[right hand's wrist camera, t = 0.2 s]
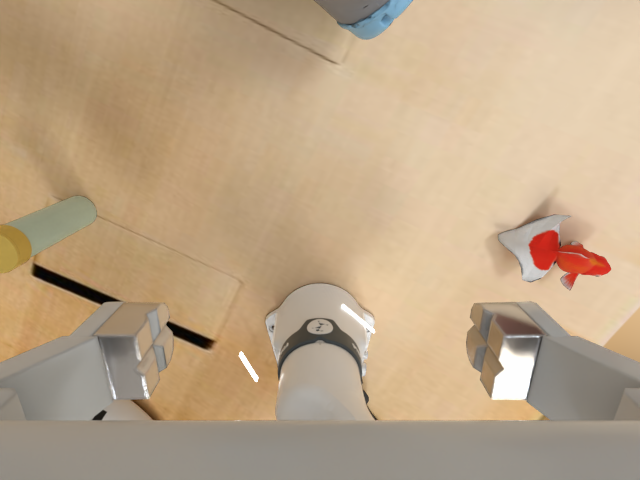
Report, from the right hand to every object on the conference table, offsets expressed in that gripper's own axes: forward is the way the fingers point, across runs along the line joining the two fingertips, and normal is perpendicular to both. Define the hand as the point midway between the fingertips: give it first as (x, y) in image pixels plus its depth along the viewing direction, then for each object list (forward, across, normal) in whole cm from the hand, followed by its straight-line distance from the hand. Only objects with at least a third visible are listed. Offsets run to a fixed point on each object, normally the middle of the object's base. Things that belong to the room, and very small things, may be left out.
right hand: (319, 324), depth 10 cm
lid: (+31, -37, -11) cm, 50 cm away
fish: (+48, +35, -17) cm, 62 cm away
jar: (+48, -37, -11) cm, 62 cm away
